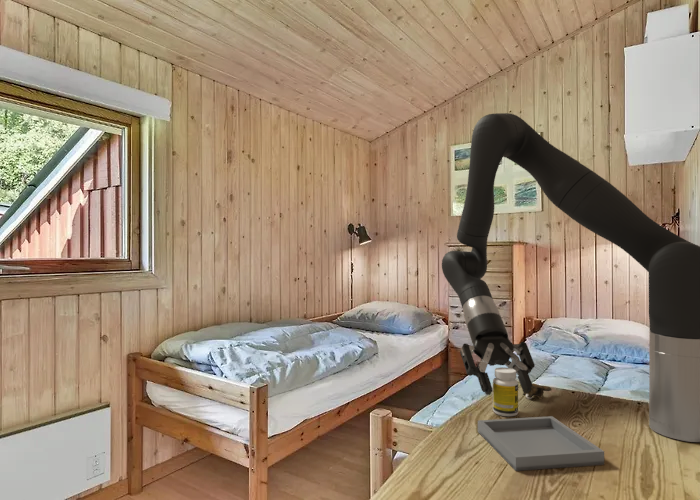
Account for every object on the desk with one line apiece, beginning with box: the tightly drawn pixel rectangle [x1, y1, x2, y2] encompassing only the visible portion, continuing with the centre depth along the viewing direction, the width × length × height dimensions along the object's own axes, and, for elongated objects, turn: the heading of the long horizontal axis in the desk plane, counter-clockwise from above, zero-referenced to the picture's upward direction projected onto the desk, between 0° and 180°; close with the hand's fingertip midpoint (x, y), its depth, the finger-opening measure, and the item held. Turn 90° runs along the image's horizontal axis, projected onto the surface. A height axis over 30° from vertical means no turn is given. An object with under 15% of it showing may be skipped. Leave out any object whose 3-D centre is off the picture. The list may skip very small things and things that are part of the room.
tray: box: [477, 415, 605, 472], centre depth 75 cm, size 14×14×2 cm
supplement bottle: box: [492, 367, 519, 417], centre depth 90 cm, size 5×5×8 cm
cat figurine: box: [522, 382, 552, 400], centre depth 99 cm, size 3×8×4 cm, turn 113°
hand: (508, 392), depth 88 cm, fingers open, 7 cm apart
